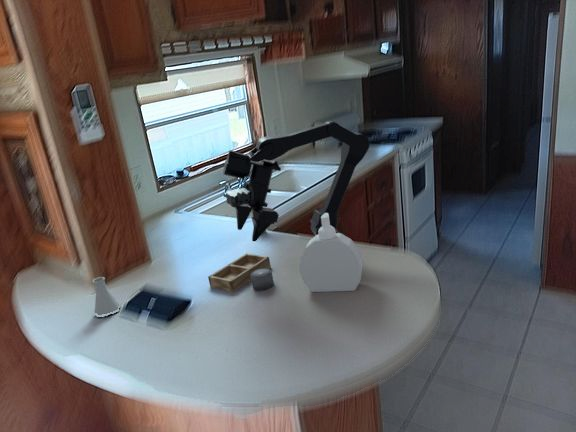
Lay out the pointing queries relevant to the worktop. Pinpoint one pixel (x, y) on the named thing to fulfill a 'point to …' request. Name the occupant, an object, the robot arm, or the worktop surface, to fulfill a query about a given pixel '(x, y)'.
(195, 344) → the worktop surface
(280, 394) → the worktop surface
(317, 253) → the soap bottle
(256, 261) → the holder
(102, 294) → the flask
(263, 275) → the lid
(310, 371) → the worktop surface
